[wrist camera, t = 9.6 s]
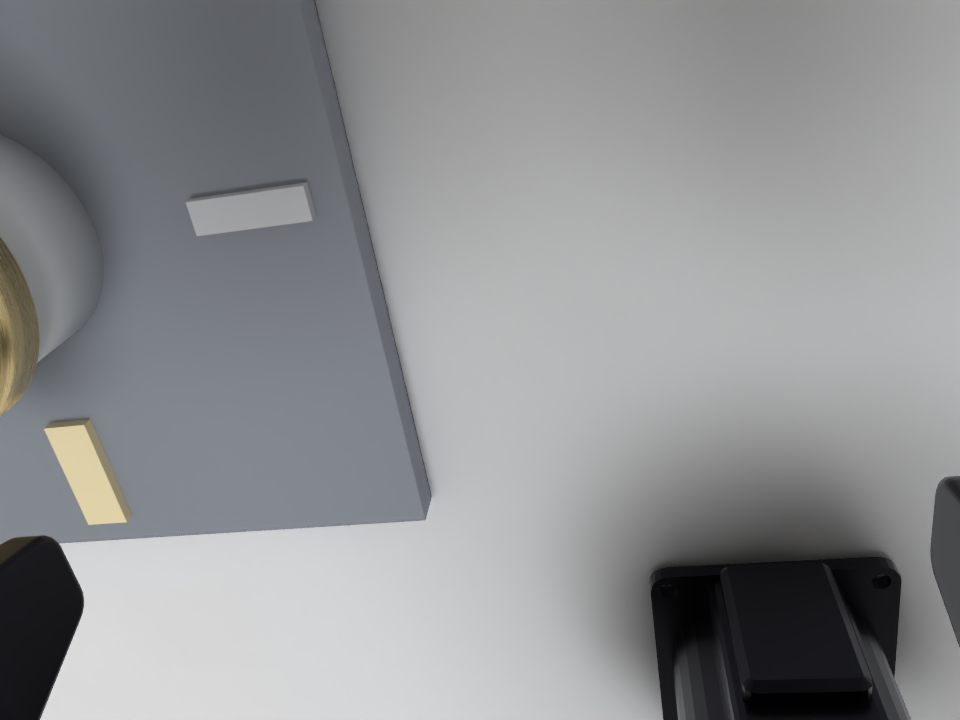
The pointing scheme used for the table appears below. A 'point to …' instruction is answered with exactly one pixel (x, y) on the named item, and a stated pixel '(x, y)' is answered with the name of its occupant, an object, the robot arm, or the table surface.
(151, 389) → the post base
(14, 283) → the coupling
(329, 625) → the table surface
